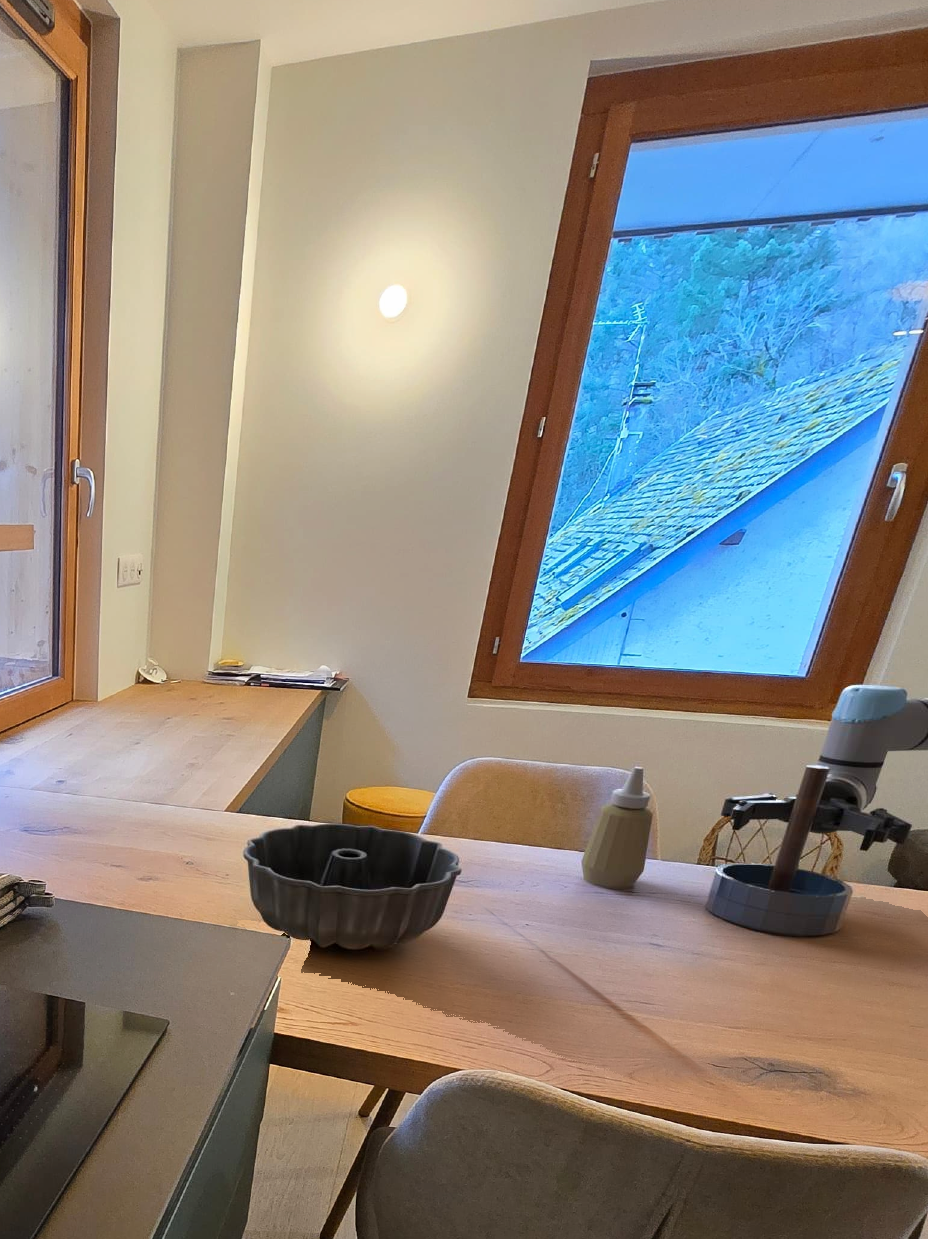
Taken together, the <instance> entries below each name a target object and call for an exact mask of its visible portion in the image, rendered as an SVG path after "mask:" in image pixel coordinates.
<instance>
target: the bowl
mask: <svg viewBox="0 0 928 1239" xmlns="http://www.w3.org/2000/svg"><path fill="white" fill-rule="evenodd" d="M774 865H775V864H770V863H760V862H759V863H758V862H731V863H723V864H720V865H719V866H716V868H715V871H714V874H713V878H712V881H711V885H710V888H709V891H708V895H707V899H706V901H705V906H704V907H705V908H706V909H707V910H708V911H709V912H710V913H711V914H713V915H715V916H717V917H719V918H721V919H723V920H725V921H727V922H730V923H732V924H735V925H737V926H740V927H743V928H746V929H749V930H753V931H758V932H762V933H766V934H772V935H779V936H788V937H801V938H803V937H804V938H807V937H808V938H809V937H820V936H824V935H830V934H834V933H836V932H838V931H839V930H840V929H841V927H842V924H843V920H844V918H845V915H846V913H847V911H848V907H849V904H850V902H851V899H852V896H853V893H854V890H853V887H852V886H851V885H850V884H848V883H847V882H845V881H843V880H840V879H838V878H835V877H832V876H830V875H826V874H823V873H819V872H816V871H812V870H807V869H801V868H798V867H797V870H796V873H795V876H794V879H793V882H792V885H791V888H790V891H789V892H784V891H777V890H771V889H767V887H768V884H769V881H770V878H771V875H772V872H773V869H774Z"/></svg>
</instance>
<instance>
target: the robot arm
mask: <svg viewBox="0 0 928 1239" xmlns="http://www.w3.org/2000/svg"><path fill="white" fill-rule="evenodd" d="M907 697H908V691H907V690H906V689H904V688H902V687H899V686H890V685H880V684H879V685H878V684H877V685H876V684H875V685H874V684H852V685H849V686H847V687H845V688H844V689H843V690H842V692H841V693H840V696H839V698H838V700H837V703H836V706H835V708H834V709H833V711H832V713H831V720H830V722H829V726H828V729H827V732H826V736H825V739H824V742H823V744H822V748H821V751H820V753H819V754H820V755H819V758H818V760H817V762H816V765H818V766H825V767H829V768H830V771H829V774H828V777H827V780H826V783H825V786H824V789H823V792H822V795H821V798H820V801H819V804H818V807H817V810H816V813H815V816H814V819H813V822H812V825H811V828H810V831H809V833H813V834H819V835H824V834H825V835H826V834H831V833H832V834H833V833H836V832H838V831H839V832H852V833H855V834H857V835H860V836H863V839H862V841H861V844H860V847H859V851H865V852H868V851H869V850H870V848H871V847H872V845H873V844H874V843H880V844H885V843H887V841H888V840H889V841H890V842H893V843H895V844H897V845H905V844H906V843H907V840H908V838H909V835H910V832H911V829H912V827H913V824H912V823H909V822H908V821H905V820H903V819H901V818H899V817H897V816H896V815H893V814H892V813H890V812H888V810H887V809H885V808H884V807H877V808H875V809H871V810H870V812H866V811H865V812H864V810H865V809H866V808H867V807H868V805H870V804H871V803H872V802H873V800H874V798H875V796H876V793H877V790H878V789H877V788H878V787H877V783H878V780H879V777H880V774H881V772H882V769H883V766H884V763H885V760H886V757H887V755H888V752H910V751H913V752H914V751H928V697H924V698H907ZM796 797H797V794H795V796H786V797H784V798H783V799H778V795H777V794H776V793H773V792H766V793H763V794H759V795H758V794H757V795H756V794H755V795H746V796H734V797H725V798H724V803H723V805H722V809H721V812H720V816H721V817H724V818H730V820H732V828H731V830H734V831H740V830H741V829H742V828H744V827H745V826H746V825H748V824H749V823H750V822H751V820H753V821H755V820H757V821H759V820H778V821H780V822H783V823H786V824H788V822H789V819H790V816H791V813H792V810H793V806H794V803H795V800H796Z"/></svg>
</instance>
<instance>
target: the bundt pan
mask: <svg viewBox="0 0 928 1239" xmlns="http://www.w3.org/2000/svg"><path fill="white" fill-rule="evenodd" d="M246 841H247V842H246V845H247V846H246V847H244V849H243V852H242V856H243V858H244V859H245V861H247V870H248V881H249V892H250V897H251V898H250V899H251V901H252V904H253V906H254V908H255V909H256V910H257V911H258V913H259V914H260V916H261V919H262V920H263V922H264V923H265V924H266V925H267V926H268V927H270V928H271V929H272V930H275V931H279V932H283V933H285V935H287V936H288V937H291V938H292V939H295V940H299V941H311V940H313V941H314V942H315V943H316V944H317V945H318V946H319V947H320V948H327V947H330V946H331V945H334V944H337V945H338V946H340V947H342V948H344V949H347V950H362V949H366V948H368V947H369V946H370V947H372V948H375V949H376V950H387V949H389V948H391V947H393V946H394V945H395V944H406V943H408V942H412V941H414V940H416V939H417V938H419V937H421V936H422V935H423V934H424V933H425V932H427V931H429V930H431V929H433V927H435V926H436V925H437V924H438V923H439V921H440V920H441V918H442V917H443V915H444V912H445V910H446V907H447V904H448V901H449V899H450V896H451V893H452V890H453V888H454V884H455V882H456V879H457V878H458V877H457V876H461V874H462V870H463V869H462V868H461V867H459V863H460V856H459V855H457V854H456V853H455V852H453V851H452V850H449V849H446V848H443V845H442V843H441V842H439V841H438V842H437V841H433V840H428V839H425V838H424V837H422V836H420V835H417V834H415V833H411V832H407V831H401V830H396V829H383V828H381V827H379V826H375V825H360V826H359V825H355V824H348V823H347V824H346V823H319V824H313V825H307V824H296V825H293V826H291V827H284V828H274V829H271V830H266V831H264V832H262V833H261V834H259V836H258V837H253V838H249V839H248V840H246Z"/></svg>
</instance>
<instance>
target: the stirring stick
mask: <svg viewBox="0 0 928 1239" xmlns="http://www.w3.org/2000/svg"><path fill="white" fill-rule="evenodd" d="M829 771H830V768H829V767H825V766H818V765H817V764H816V765H815V764H809V765H806V766H805V769H804V772H803V776H802V778H801V782H800V784H799V788H798V791H797V794H796V795H797V797H796V800H795V803H794V806H793V810H792V813H791V816H790V819H789V822H788V823H787V825H786V829H785V831H784V835H783V838H782V840H781V844H780V847H779V850H778V852H777V856H776V860H775V863H774V864H773V865H774V869H773V872H772V875H771V878H770V881H769V884H768V887H767V889H771V890H777V891H784V892H789V891H790V888H791V885H792V882H793V879H794V876H795V873H796V870H797V868H798V867H799V864H800V861H801V858H802V855H803V852H804V849H805V846H806V843H807V840H808V837H809V834H810V832H809V831H810V828H811V825H812V822H813V819H814V816H815V813H816V810H817V807H818V804H819V801H820V798H821V795H822V792H823V789H824V786H825V783H826V780H827V777H828V774H829Z"/></svg>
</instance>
